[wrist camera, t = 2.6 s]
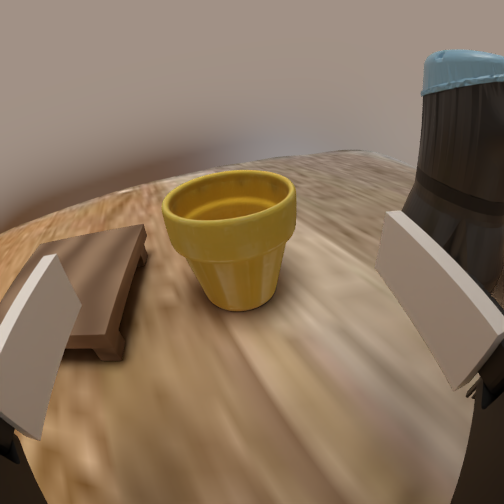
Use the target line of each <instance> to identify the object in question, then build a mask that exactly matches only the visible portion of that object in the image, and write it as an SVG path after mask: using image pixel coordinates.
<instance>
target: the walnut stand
mask: <svg viewBox="0 0 504 504" xmlns="http://www.w3.org/2000/svg"><path fill="white" fill-rule="evenodd" d="M146 237H147V234H146V231H145V228H144V224H140V225H135V226H129V227H123V228H118V229H112V230H107V231H102V232H96V233H91V234H86V235H81V236H76V237H71V238H67V239H62V240H57V241H52V242H48V243H43V244H40V245H39V246H38V248H37V249H36V250H35V252H34V253H33V254H32V256H31V257H30V258H29V260H28V261H27V263H26V264H25V265H24V267H23V268H22V270H21V271H20V273H19V274H18V275H17V277H16V278H15V280H14V281H13V283H12V285H11V286H10V288H9V289H8V291H7V292H6V294H5V296H4V297H3V299H2V300H1V302H0V325H1V323H2V321H3V319H4V318H5V316H6V314H7V312H8V310H9V309H10V307H11V305H12V304H13V302H14V300H15V298H16V297H17V295H18V294H19V292H20V290H21V289H22V287H23V286H24V284H25V282H26V281H27V279H28V278H29V276H30V275H31V273H32V272H33V270H34V269H35V267H36V266H37V265H38V263H39V262H40V260H41V259H42V258H43V256H47V255H52V254H57V256H58V258H59V260H60V263H61V265H62V267H63V269H64V271H65V273H66V275H67V277H68V279H69V281H70V283H71V285H72V287H73V289H74V291H75V293H76V295H77V297H78V299H79V300H80V302H81V304H82V306H81V308H80V311H79V313H78V316H77V318H76V321H75V323H74V326H73V328H72V331H71V334H70V336H69V339H68V342H67V345H66V347H65V348H92V349H93V350H94V351H95V353H96V354H97V355H98V357H99V358H100V359H101V361H122V358H123V353H124V348H125V343H126V342H125V340H124V339H123V337H122V335H121V334H120V332H119V330H118V329H119V325H120V322H121V318H122V314H123V310H124V307H125V303H126V300H127V296H128V293H129V289H130V286H131V283H132V279H133V276H134V273H135V270H136V267H139V266H145V263H146V260H147V256H148V255H147V252H146V249H145V246H144V243H145V240H146Z"/></svg>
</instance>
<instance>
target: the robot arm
mask: <svg viewBox="0 0 504 504" xmlns="http://www.w3.org/2000/svg"><path fill="white" fill-rule="evenodd" d="M421 96H423V111H422V112H423V113H422V129H421V139H420V148H419V156H418V163H417V172H416V178H415V183H414V185H413V188H412V190H411V192H410V194H409V196H408V198H407V200H406V202H405V204H404V207H403V209H402V211H389V212H386V213H385V219H384V224H383V230H382V235H381V240H380V245H379V250H378V255H377V259H376V264H375V269H376V271H377V272H378V273H379V275H380V276H381V277H382V279H383V280H384V282H385V283H386V284H387V286H388V287H389V289H390V290H391V291H392V293H393V294H394V296H395V297H396V299H397V300H398V302H399V303H400V304H401V306H402V307H403V309H404V310H405V312H406V313H407V315H408V316H409V318H410V319H411V321H412V322H413V324H414V326H415V327H416V329H417V330H418V332H419V333H420V335H421V337H422V338H423V340H424V341H425V343H426V345H427V346H428V348H429V349H430V351H431V353H432V354H433V356H434V358H435V359H436V361H437V363H438V365H439V366H440V368H441V370H442V371H443V373H444V375H445V377H446V379H447V380H448V382H449V384H450V386H451V388H452V389H453V391H455V390H457V389H459V388H461V387H462V386H464V385H466V384H468V383H469V382H470V381H471V380H472V378H473V377H474V376H475V375H476V374H477V373H479V375H480V376H481V377H480V378H479V379H478V380H477V382H476V383H475V384H474V385H473V386H472V387H471V388H470V389H469V390H468V392H467V394H466V397H467V398H468V397H469V396H470V395H471V394H472V393H473V392H474V391H475V390H476V393H475V394H474V395H473V396H472V399H475V404H474V412H473V419H472V425H471V430H470V436H469V440H468V445H467V450H466V454H465V458H464V462H463V466H462V469H461V473H460V476H459V480H458V483H457V486H456V489H455V492H454V495H453V498H452V500H451V503H450V504H504V310H503V308H502V307H501V306H500V305H499V304H498V302H497V301H496V300H495V299H494V298H493V297H491V294H490V292H491V291H492V290H493V289H494V287H495V285H496V283H497V281H498V278H499V276H500V274H501V271H502V268H503V259H504V57H503V56H500V55H496V54H492V53H486V52H480V51H473V50H443V51H438V52H435V53H433V54H431V55H430V56H428V57H427V59H426V61H425V64H424V78H423V90H422V91H421ZM81 306H82V304H81V302H80V300H79V299H78V297H77V295H76V293H75V291H74V289H73V287H72V285H71V283H70V281H69V279H68V277H67V275H66V273H65V271H64V269H63V267H62V265H61V263H60V260H59V258H58V256H57V254H52V255H47V256H43V258H42V259H41V260H40V262H39V263H38V265H37V266H36V267H35V269H34V270H33V272H32V273H31V275H30V276H29V278H28V279H27V281H26V282H25V284H24V286H23V287H22V289H21V290H20V292H19V294H18V295H17V297H16V298H15V300H14V302H13V304H12V305H11V307H10V309H9V310H8V312H7V314H6V316H5V318H4V319H3V321H2V323H1V325H0V504H48V503H47V501H46V500H45V498H44V496H43V494H42V492H41V490H40V488H39V486H38V484H37V482H36V480H35V477H34V475H33V473H32V471H31V468H30V466H29V464H28V461H27V459H26V456H25V454H24V451H23V448H22V446H21V443H20V440H19V438H18V437H17V436H16V435H15V434H14V429H16V430H17V431H19V432H20V433H22V434H23V435H25V436H26V437H29V438H33V439H36V440H39V441H40V440H41V435H42V430H43V425H44V420H45V416H46V412H47V408H48V404H49V400H50V396H51V392H52V389H53V385H54V382H55V378H56V375H57V372H58V368H59V365H60V362H61V359H62V356H63V353H64V350H65V347H66V345H67V342H68V339H69V336H70V334H71V331H72V328H73V326H74V323H75V321H76V318H77V316H78V313H79V311H80V308H81Z"/></svg>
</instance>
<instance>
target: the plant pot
mask: <svg viewBox="0 0 504 504" xmlns="http://www.w3.org/2000/svg"><path fill="white" fill-rule="evenodd" d="M162 214H163V218H164V222H165V225H166V229H167V232H168V235H169V238H170V241H171V244H172V246H173V247H174V249H175V250H176V251H177V252H178V253H179V254H180V255H182V256H184V257H185V258H186V260H187V261H188V263H189V265H190V267H191V269H192V271H193V272H194V274H195V276H196V278H197V279H198V281H199V283H200V285H201V286H202V288H203V290H204V292H205V294H206V295H207V297H208V299H209V300H210V301H211V302H212V303H213V304H215V305H216V306H218V307H220V308H222V309H225V310H229V311H246V310H251V309H254V308H257V307H259V306H261V305H263V304H264V303H266V302H267V301H268V300H269V299H270V298H271V297H272V296H273V294H274V292H275V289H276V286H277V281H278V276H279V271H280V267H281V262H282V258H283V253H284V249H285V244H286V242H287V241H288V240H289V239H290V237H291V236H292V234H293V232H294V230H295V226H296V189H295V187H294V185H293V183H292V182H291V181H290V180H289V179H287V178H286V177H284V176H281V175H279V174H276V173H271V172H267V171H258V170H233V171H225V172H219V173H213V174H209V175H205V176H202V177H198V178H195V179H192V180H190V181H188V182H186V183H183V184H181V185H180V186H178V187H176V188H175V189H173V190H172V191H171V192H170V193H168V194H167V196H166V197H165V198H164V200H163V202H162Z"/></svg>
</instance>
